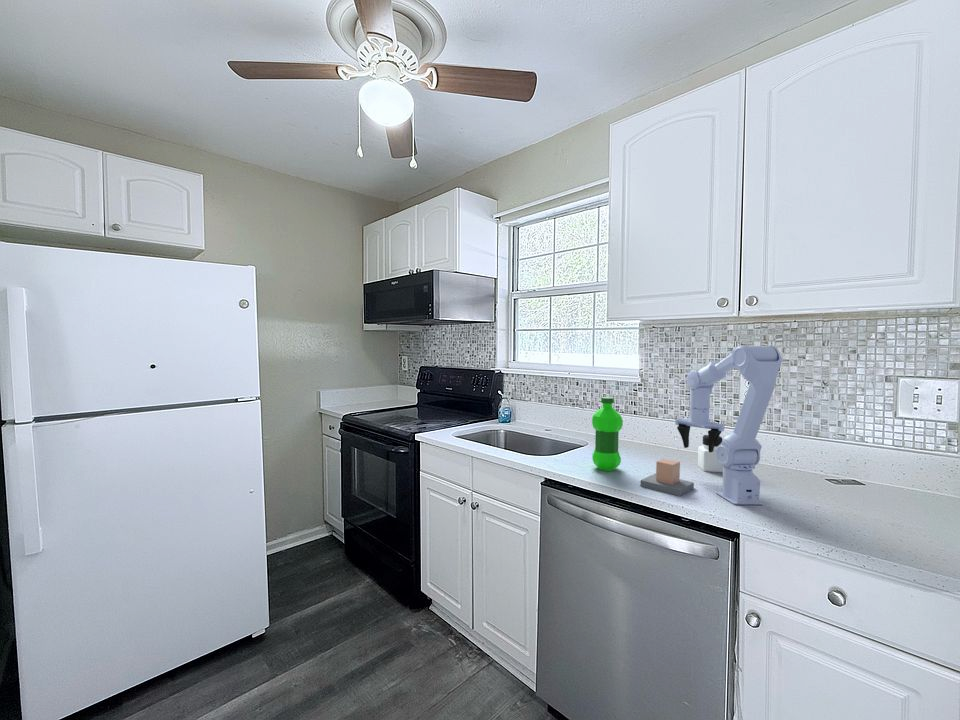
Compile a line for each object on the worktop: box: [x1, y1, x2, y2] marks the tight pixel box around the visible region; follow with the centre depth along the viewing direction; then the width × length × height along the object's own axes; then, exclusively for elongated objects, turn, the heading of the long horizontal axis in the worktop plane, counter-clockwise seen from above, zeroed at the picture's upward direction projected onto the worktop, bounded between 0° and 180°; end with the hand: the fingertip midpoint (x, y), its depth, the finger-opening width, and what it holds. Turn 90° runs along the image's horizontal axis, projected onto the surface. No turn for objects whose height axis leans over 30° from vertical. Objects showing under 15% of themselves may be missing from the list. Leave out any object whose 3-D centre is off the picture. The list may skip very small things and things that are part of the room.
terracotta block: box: [655, 458, 681, 485], centre depth 133 cm, size 5×5×6 cm
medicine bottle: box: [697, 433, 723, 473], centre depth 151 cm, size 7×7×12 cm
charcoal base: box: [640, 473, 695, 497], centre depth 132 cm, size 12×10×2 cm
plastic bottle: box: [591, 396, 624, 472], centre depth 151 cm, size 10×10×25 cm
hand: (698, 449), depth 141 cm, fingers open, 7 cm apart
